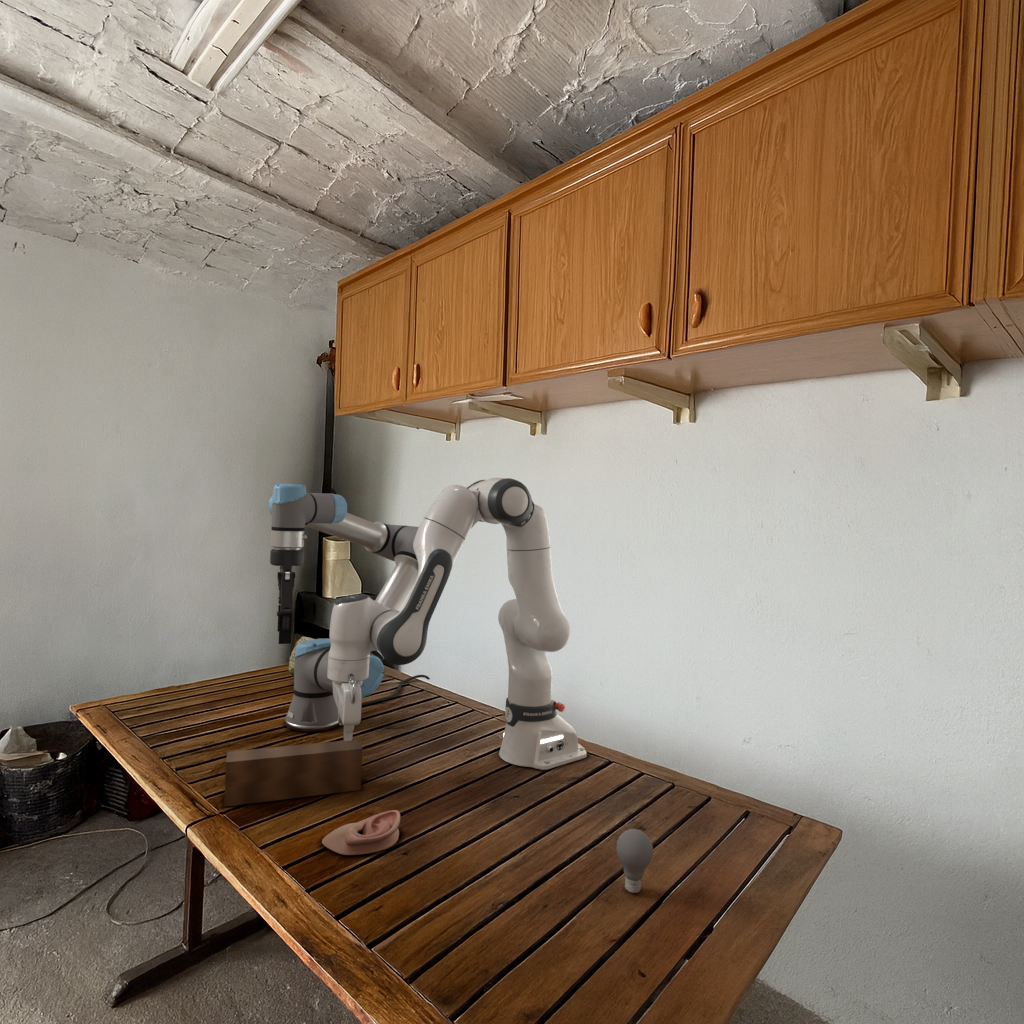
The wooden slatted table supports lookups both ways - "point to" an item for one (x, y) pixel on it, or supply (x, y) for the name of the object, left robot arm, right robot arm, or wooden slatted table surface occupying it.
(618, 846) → the light bulb
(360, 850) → the anatomical model
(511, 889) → the wooden slatted table surface
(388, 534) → the left robot arm
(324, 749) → the bar
